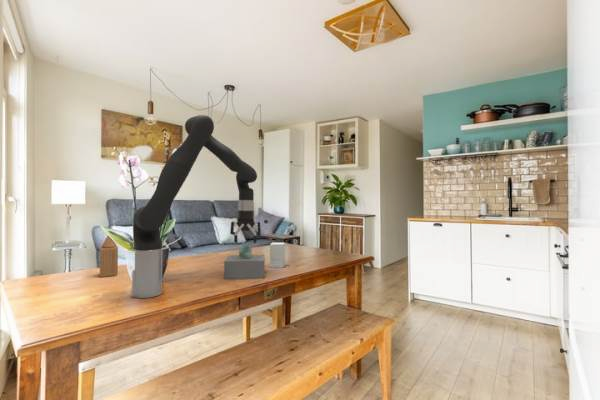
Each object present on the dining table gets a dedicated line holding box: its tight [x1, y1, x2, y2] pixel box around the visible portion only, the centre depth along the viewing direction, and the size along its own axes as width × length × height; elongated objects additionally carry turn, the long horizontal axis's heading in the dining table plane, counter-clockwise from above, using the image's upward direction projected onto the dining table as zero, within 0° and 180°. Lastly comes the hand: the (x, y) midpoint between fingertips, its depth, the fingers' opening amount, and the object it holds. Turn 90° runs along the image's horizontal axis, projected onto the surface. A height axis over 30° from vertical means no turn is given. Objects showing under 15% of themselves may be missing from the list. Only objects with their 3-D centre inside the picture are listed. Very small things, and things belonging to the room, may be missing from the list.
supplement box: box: [269, 242, 286, 269], centre depth 161 cm, size 7×7×13 cm
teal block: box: [238, 244, 252, 259], centre depth 143 cm, size 6×6×6 cm
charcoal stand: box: [223, 253, 266, 280], centre depth 143 cm, size 18×16×8 cm
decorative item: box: [99, 235, 119, 278], centre depth 140 cm, size 7×7×20 cm
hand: (245, 243), depth 143 cm, fingers open, 8 cm apart
